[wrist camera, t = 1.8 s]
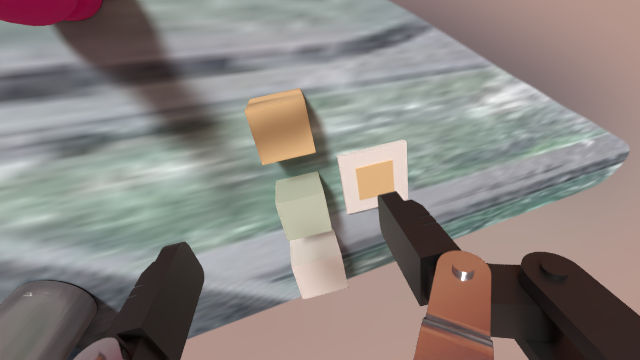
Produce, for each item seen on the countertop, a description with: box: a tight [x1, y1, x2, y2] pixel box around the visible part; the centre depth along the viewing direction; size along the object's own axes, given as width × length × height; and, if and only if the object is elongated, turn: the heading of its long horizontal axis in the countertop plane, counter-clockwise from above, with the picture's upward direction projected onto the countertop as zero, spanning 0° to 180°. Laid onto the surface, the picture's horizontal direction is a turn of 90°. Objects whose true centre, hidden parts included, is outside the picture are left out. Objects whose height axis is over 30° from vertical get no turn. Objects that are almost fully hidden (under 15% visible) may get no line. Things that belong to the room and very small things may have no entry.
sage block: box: [276, 171, 332, 241], centre depth 30 cm, size 5×5×5 cm
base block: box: [290, 229, 348, 299], centre depth 34 cm, size 6×6×5 cm
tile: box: [336, 139, 408, 214], centre depth 32 cm, size 8×8×1 cm
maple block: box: [245, 88, 316, 165], centre depth 25 cm, size 5×5×5 cm
